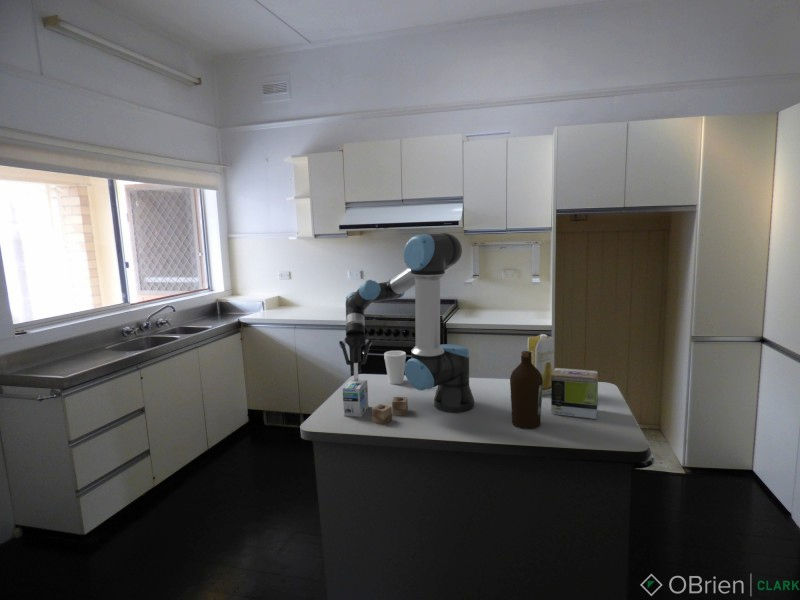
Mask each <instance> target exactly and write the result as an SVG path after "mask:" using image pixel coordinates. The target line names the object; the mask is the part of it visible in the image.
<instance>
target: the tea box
mask: <svg viewBox="0 0 800 600" xmlns="http://www.w3.org/2000/svg"><path fill="white" fill-rule="evenodd" d="M550 395H551V397H550V398H551V399H550V400H551V401H550V402H551V403H550V404H551V405H550V406H551V410H550V411H551V415H559V416H565V417H566V416H567V417H568V416H569V417H576V418H585V419H593V420H597V415H598V414H597V413H598V408H599V405H598V402H599V371H598V370H594V369H593V370H590V369H589V370H588V369H580V368H579V369H578V368H577V369H575V368H563V367H562V368H561V367H554V368H553V373H552V375H551V393H550Z"/></svg>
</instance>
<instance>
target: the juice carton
mask: <svg viewBox="0 0 800 600" xmlns="http://www.w3.org/2000/svg"><path fill="white" fill-rule="evenodd" d="M554 346H555V345H554V337H553V336H549V335H547V334H544V333H541V334H538V335H537V336H529V337H527V351H530V352H531V356H532V361H531V363H532V364H533V365H534V366H535V367H536V368H537V369H538V371H539V372H540V373H541V375H542V379H543V388H542V397H543V396H546V395H551V375H552V373H553V371H554Z"/></svg>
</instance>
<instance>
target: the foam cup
mask: <svg viewBox="0 0 800 600" xmlns="http://www.w3.org/2000/svg"><path fill="white" fill-rule="evenodd" d="M383 356H384V357H383V358H384V363H385V368H386V375H387V380H388V383H389V384H390V383H391V385H400V384H401V385H402V384H404V378H405V364H406V359H407V353H406V352H405V351H403V350H389V351H385V352H384V353H383Z"/></svg>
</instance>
